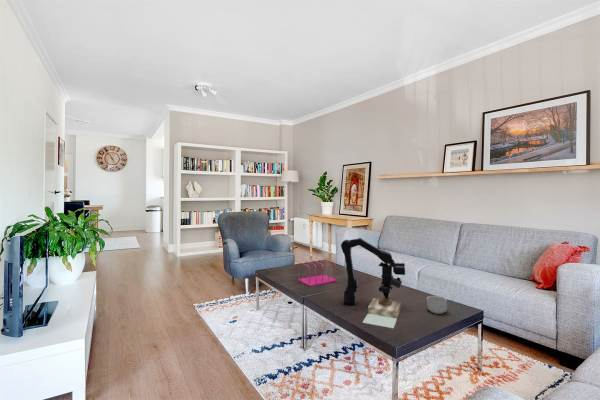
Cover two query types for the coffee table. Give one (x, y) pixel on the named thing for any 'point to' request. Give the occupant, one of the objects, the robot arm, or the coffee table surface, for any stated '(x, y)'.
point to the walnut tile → (385, 301)
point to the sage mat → (380, 320)
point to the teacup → (437, 304)
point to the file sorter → (317, 279)
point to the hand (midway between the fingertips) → (386, 299)
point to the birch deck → (384, 309)
